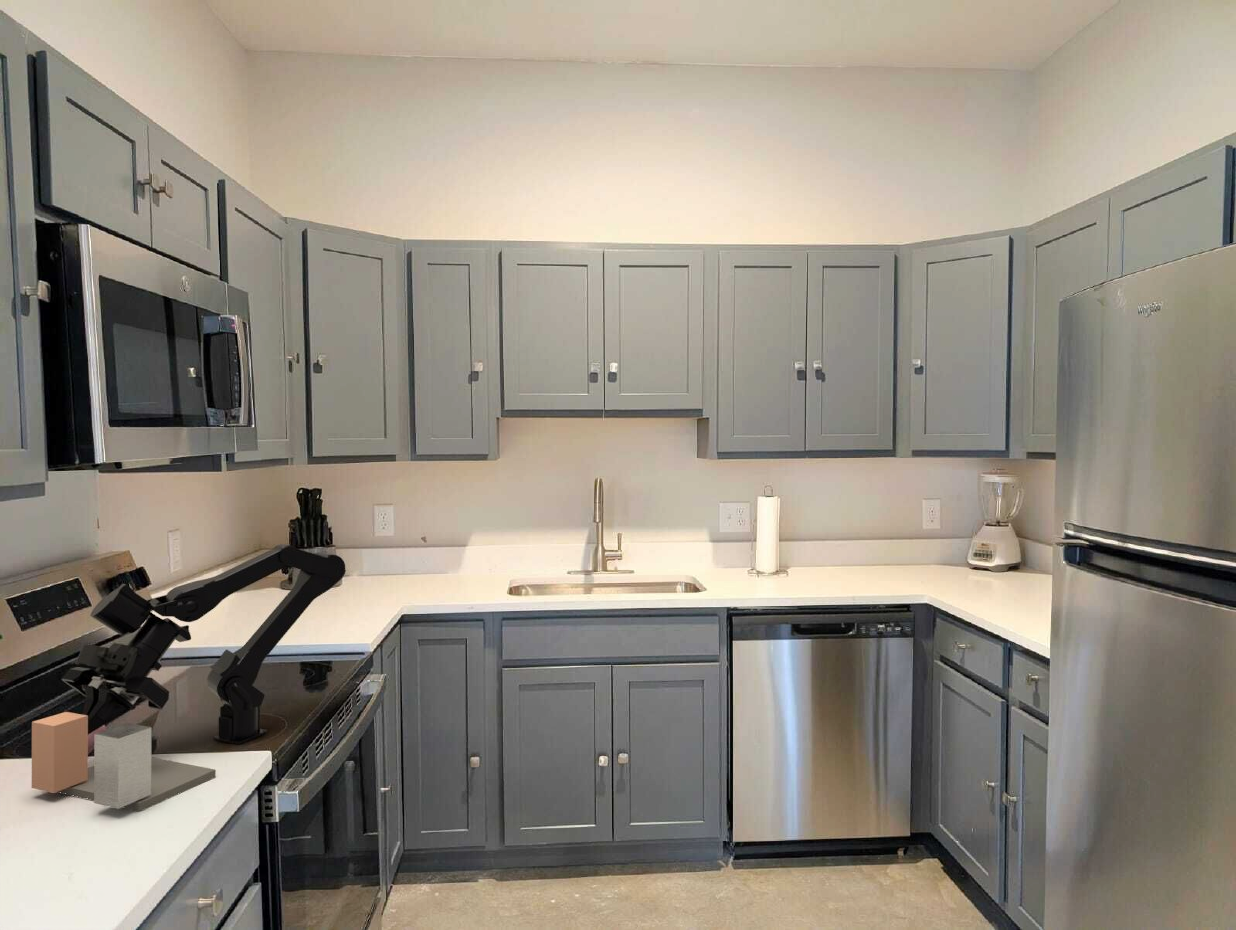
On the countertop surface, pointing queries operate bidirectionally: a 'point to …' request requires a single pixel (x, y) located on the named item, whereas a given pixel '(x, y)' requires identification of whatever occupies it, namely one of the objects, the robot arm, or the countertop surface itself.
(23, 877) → the countertop surface
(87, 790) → the thin grey base plate
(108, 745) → the brushed grey block
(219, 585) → the robot arm
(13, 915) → the countertop surface
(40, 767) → the peach orange rectangular block
